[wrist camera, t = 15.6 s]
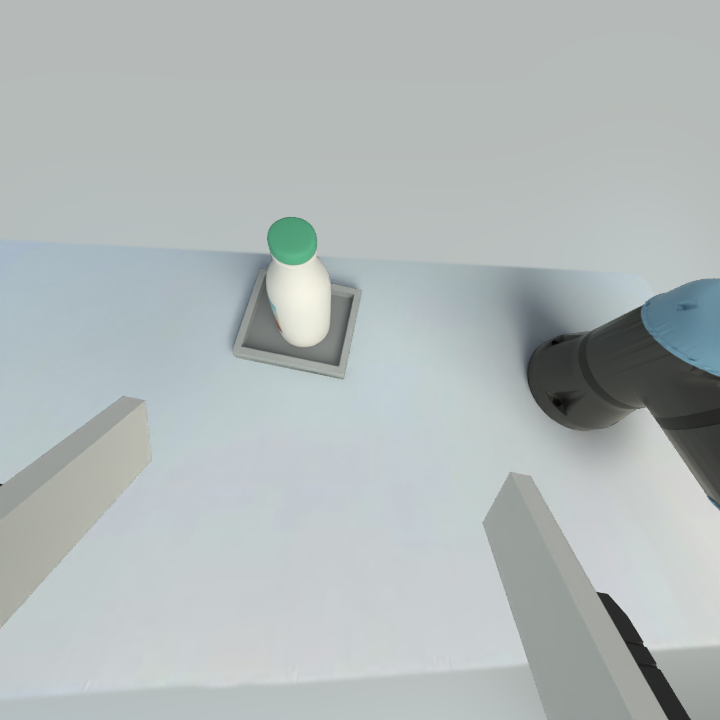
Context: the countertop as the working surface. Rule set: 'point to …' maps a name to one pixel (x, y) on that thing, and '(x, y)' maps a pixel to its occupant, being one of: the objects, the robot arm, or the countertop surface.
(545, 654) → the robot arm
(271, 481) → the countertop surface
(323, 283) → the milk bottle
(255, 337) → the tray
